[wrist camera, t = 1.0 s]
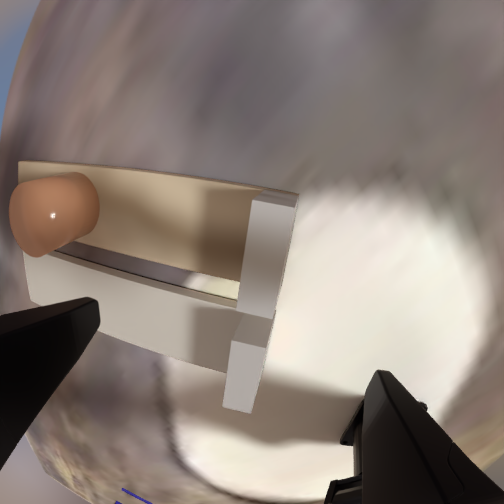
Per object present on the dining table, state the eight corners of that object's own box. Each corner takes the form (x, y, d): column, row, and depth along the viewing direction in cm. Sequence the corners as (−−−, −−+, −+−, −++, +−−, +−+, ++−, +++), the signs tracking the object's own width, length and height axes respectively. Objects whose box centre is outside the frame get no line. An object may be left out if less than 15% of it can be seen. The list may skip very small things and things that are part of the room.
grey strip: (262, 373, 23) (250, 413, 19) (36, 296, 26) (8, 315, 22) (276, 309, 21) (266, 348, 17) (29, 242, 24) (-4, 258, 20)
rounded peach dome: (99, 241, 21) (55, 265, 16) (56, 230, 22) (12, 249, 17) (100, 174, 19) (50, 185, 15) (55, 169, 20) (7, 179, 15)
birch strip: (281, 284, 20) (272, 319, 16) (27, 222, 24) (-7, 236, 19) (299, 194, 18) (294, 207, 14) (26, 160, 21) (-11, 167, 17)
